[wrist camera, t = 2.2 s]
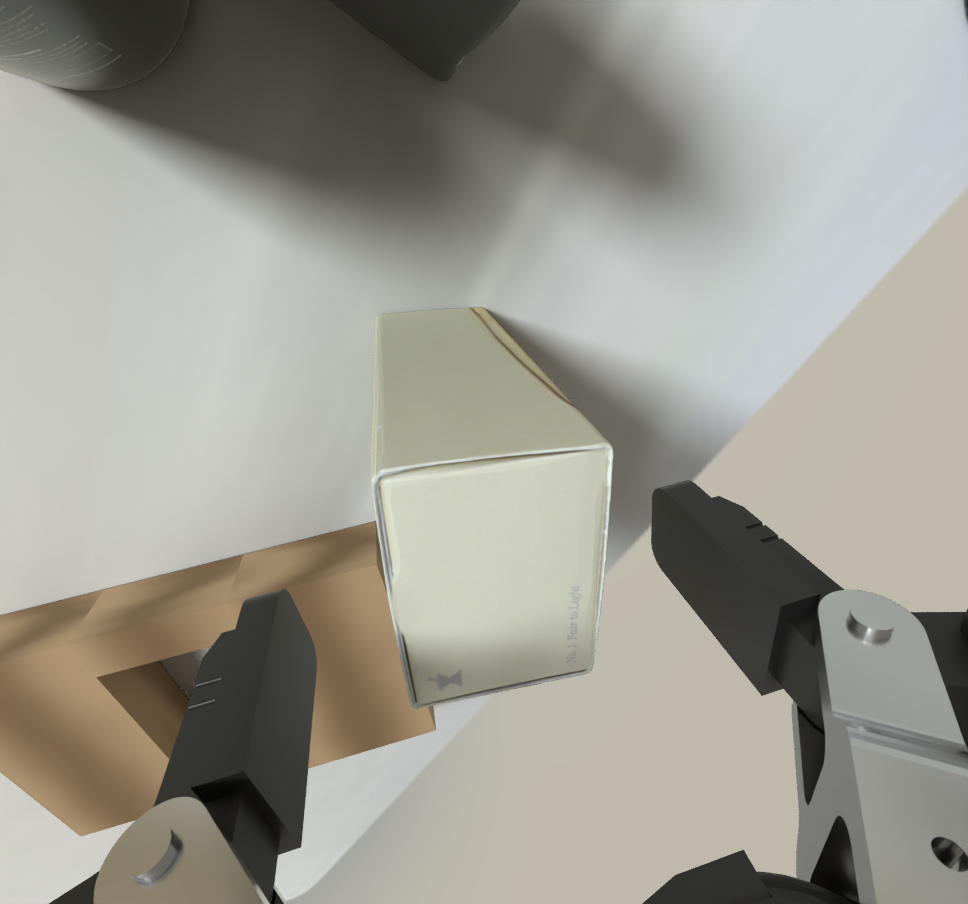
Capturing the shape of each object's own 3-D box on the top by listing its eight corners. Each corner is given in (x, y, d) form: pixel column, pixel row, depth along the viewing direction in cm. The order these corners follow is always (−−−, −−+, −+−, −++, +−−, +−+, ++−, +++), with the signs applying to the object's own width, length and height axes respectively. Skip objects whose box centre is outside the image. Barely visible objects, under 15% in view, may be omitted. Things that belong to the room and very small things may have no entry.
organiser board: (375, 521, 23) (376, 564, 20) (429, 680, 29) (436, 730, 26) (-45, 626, 21) (-103, 689, 18) (108, 773, 27) (80, 836, 24)
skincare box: (488, 443, 22) (599, 679, 11) (388, 455, 21) (409, 721, 11) (484, 298, 19) (630, 442, 8) (366, 307, 18) (366, 476, 8)
